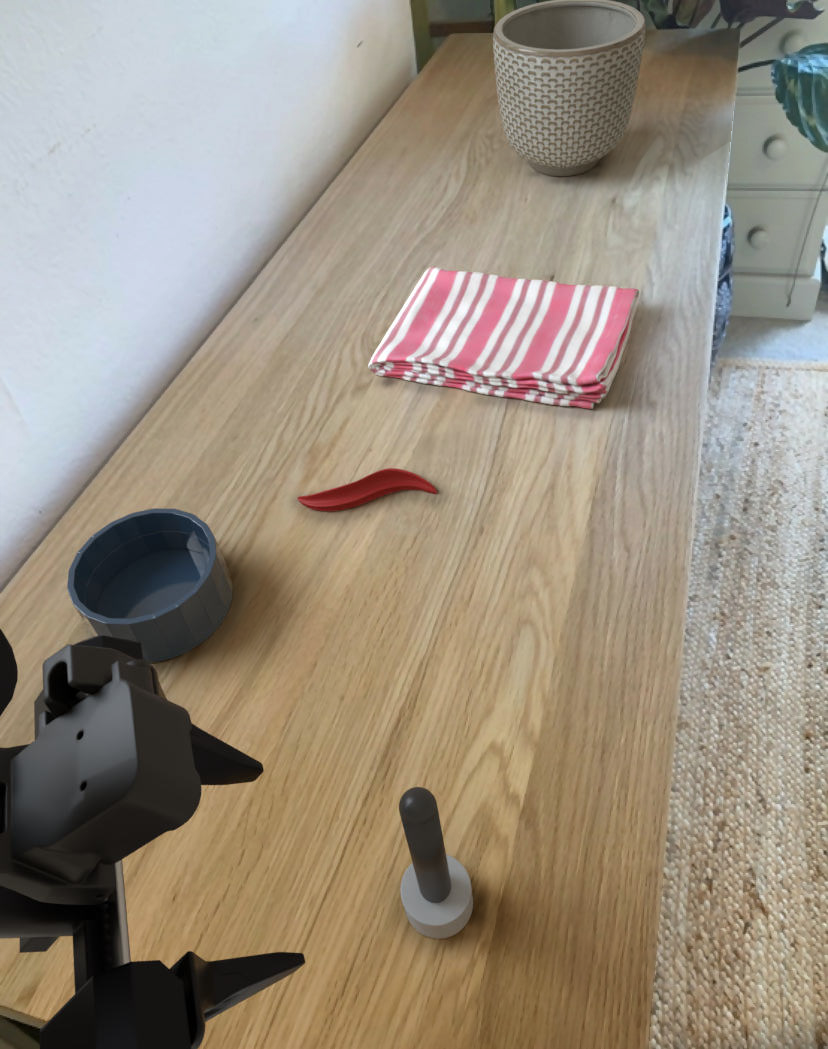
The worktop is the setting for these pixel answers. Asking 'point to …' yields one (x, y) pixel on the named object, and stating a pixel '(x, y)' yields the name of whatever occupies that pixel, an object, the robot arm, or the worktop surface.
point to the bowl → (152, 582)
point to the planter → (567, 80)
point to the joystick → (432, 871)
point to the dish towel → (509, 337)
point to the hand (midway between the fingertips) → (278, 860)
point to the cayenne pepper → (366, 490)
